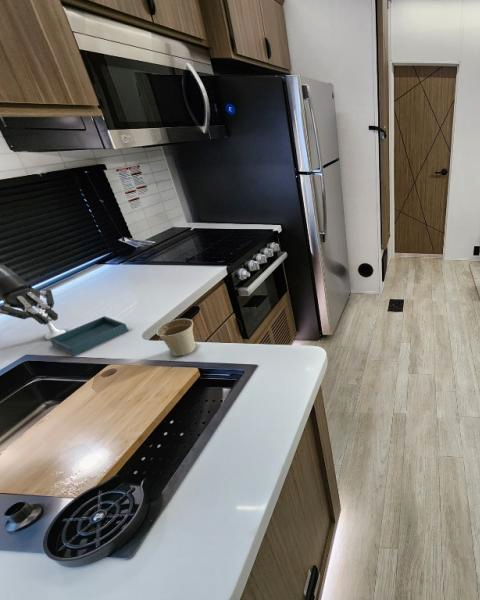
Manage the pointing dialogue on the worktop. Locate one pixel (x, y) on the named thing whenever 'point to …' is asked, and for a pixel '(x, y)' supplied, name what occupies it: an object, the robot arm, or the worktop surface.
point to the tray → (88, 335)
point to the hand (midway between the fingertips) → (51, 320)
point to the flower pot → (178, 336)
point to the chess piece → (51, 326)
